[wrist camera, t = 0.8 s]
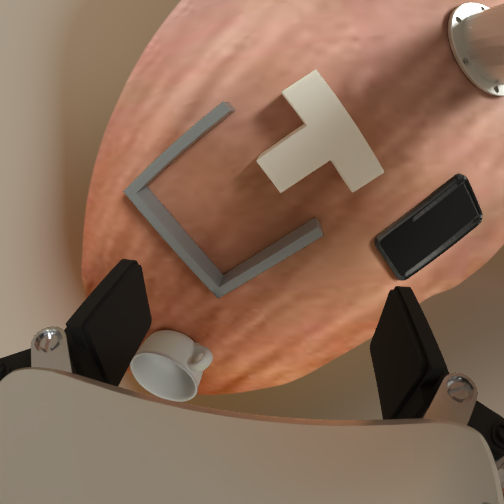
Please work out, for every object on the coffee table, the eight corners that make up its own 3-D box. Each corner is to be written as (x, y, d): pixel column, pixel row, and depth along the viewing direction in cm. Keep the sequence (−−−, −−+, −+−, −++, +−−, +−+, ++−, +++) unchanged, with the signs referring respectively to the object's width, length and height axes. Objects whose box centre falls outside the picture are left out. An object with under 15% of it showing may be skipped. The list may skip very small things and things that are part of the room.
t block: (311, 74, 27) (316, 69, 23) (373, 164, 31) (384, 172, 27) (236, 126, 30) (230, 128, 27) (301, 211, 34) (303, 224, 30)
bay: (228, 102, 29) (222, 101, 27) (321, 224, 35) (323, 235, 32) (134, 184, 35) (123, 191, 32) (222, 285, 40) (217, 298, 37)
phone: (484, 219, 30) (400, 283, 36) (480, 216, 31) (398, 279, 37) (463, 170, 28) (372, 241, 34) (459, 168, 29) (370, 237, 35)
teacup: (167, 368, 50) (154, 402, 43) (135, 325, 46) (115, 359, 39) (237, 359, 47) (229, 398, 40) (207, 309, 42) (193, 348, 35)
